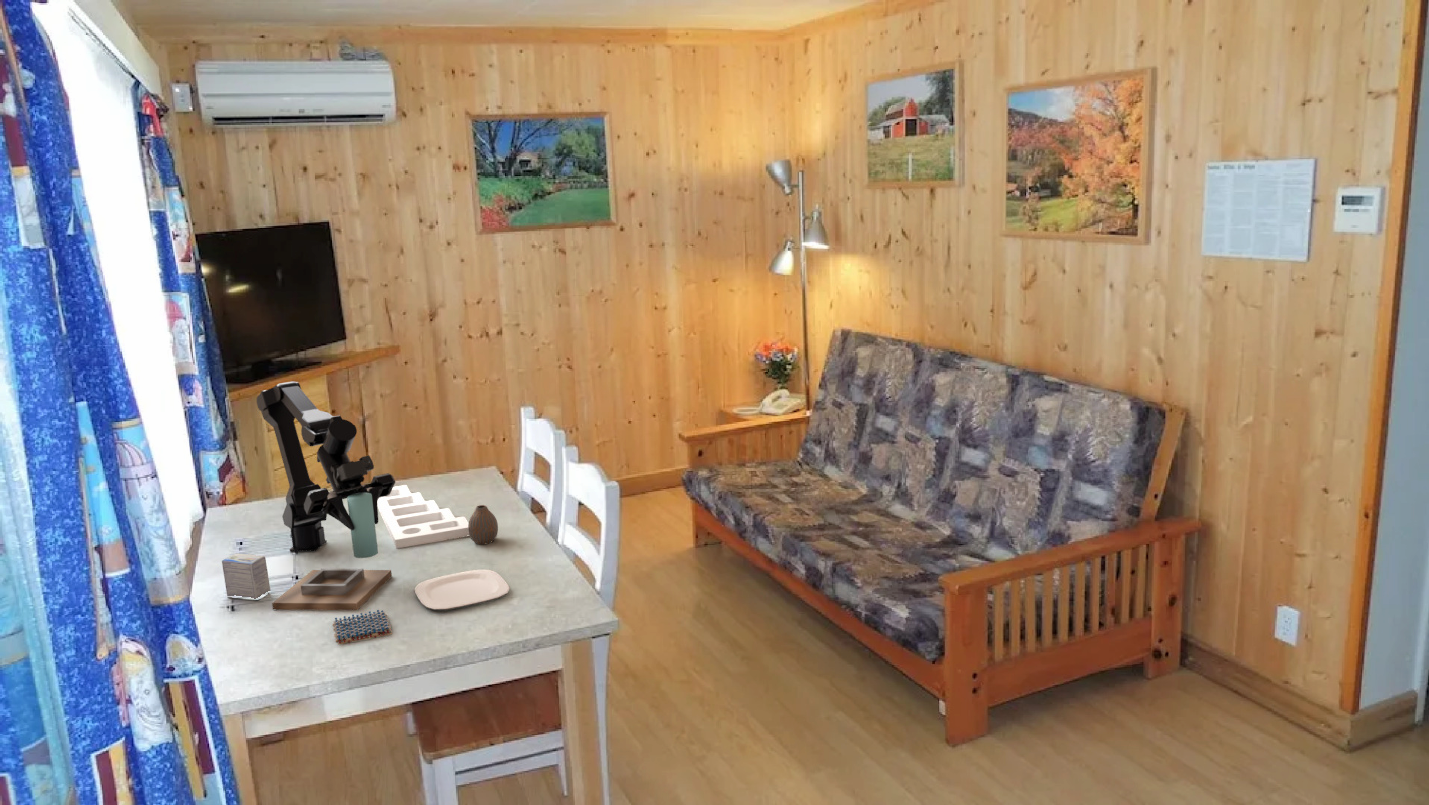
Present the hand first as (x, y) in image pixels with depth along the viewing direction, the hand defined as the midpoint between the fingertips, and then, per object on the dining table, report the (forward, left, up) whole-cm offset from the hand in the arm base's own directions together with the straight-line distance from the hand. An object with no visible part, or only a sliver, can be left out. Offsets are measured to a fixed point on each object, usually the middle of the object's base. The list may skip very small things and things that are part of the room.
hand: (365, 526), depth 224 cm
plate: (+21, -4, -14) cm, 26 cm away
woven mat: (+7, -22, -14) cm, 27 cm away
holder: (-7, +46, -14) cm, 49 cm away
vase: (+16, +27, -14) cm, 34 cm away
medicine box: (-25, -6, -14) cm, 29 cm away
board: (-7, -4, -13) cm, 16 cm away
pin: (-1, +1, -7) cm, 7 cm away
